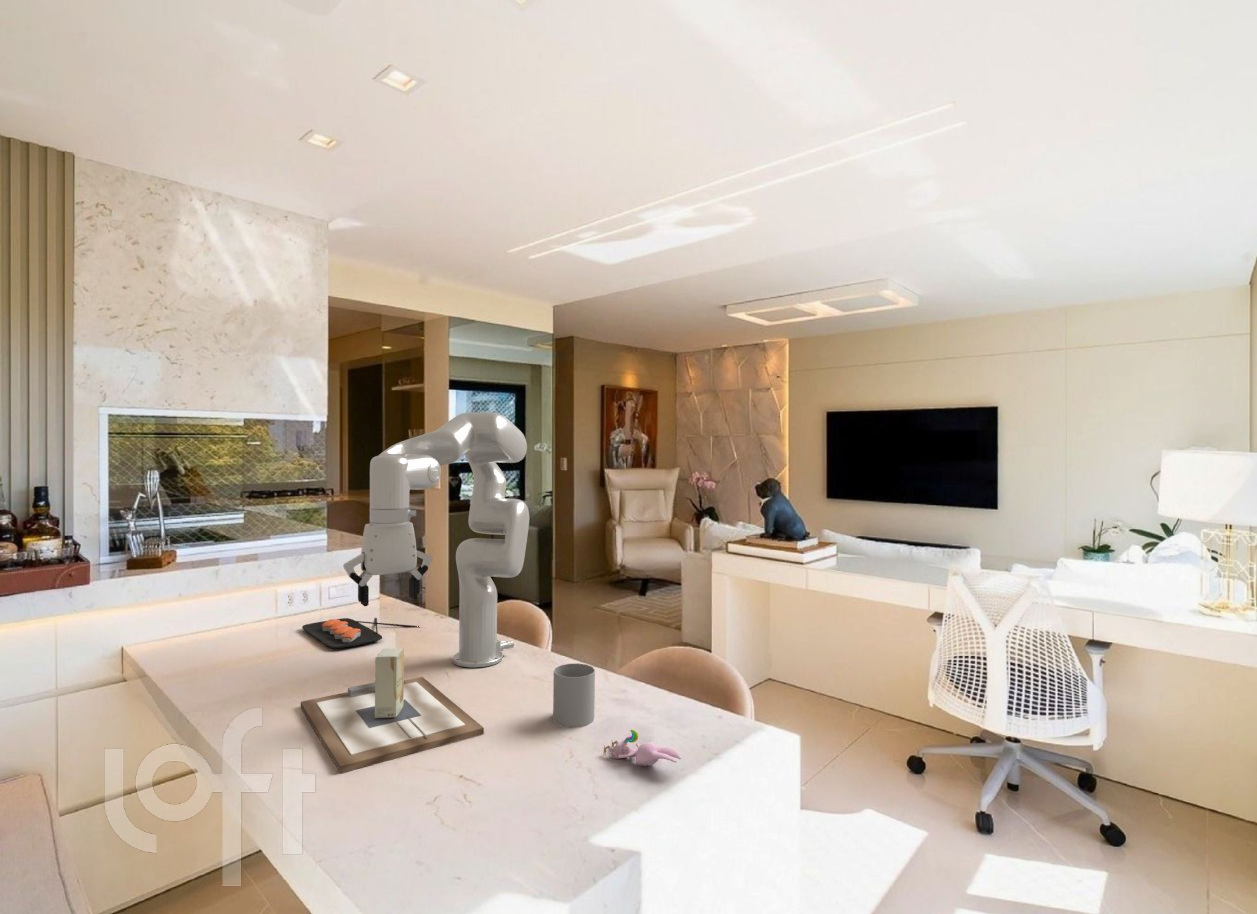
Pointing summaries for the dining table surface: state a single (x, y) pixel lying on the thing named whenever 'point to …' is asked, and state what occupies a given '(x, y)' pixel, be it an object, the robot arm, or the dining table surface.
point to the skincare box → (389, 682)
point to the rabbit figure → (641, 751)
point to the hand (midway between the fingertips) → (389, 601)
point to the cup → (574, 695)
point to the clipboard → (386, 724)
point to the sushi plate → (345, 632)
